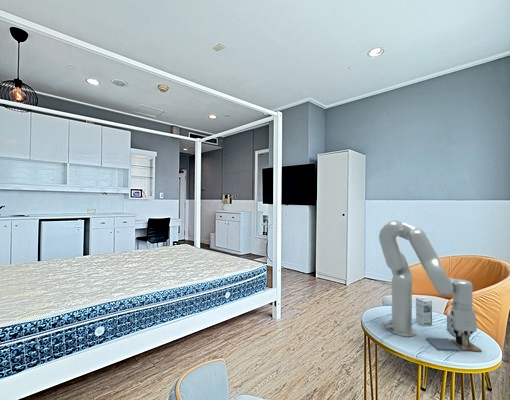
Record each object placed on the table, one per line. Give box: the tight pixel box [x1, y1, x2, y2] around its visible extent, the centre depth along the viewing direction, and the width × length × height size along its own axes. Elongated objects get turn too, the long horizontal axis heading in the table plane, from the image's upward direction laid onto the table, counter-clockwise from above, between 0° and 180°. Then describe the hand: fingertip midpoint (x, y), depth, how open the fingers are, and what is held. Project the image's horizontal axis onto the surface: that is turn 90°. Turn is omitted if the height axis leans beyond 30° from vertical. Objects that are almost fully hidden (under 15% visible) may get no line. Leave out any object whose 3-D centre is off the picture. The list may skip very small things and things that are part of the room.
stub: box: [450, 332, 483, 352], centre depth 127 cm, size 8×9×6 cm
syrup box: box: [415, 296, 433, 327], centre depth 152 cm, size 6×6×14 cm
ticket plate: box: [425, 337, 463, 353], centre depth 128 cm, size 11×10×1 cm
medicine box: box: [446, 314, 464, 338], centre depth 140 cm, size 8×4×9 cm, turn 168°
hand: (462, 343), depth 127 cm, fingers closed on stub, 2 cm apart
